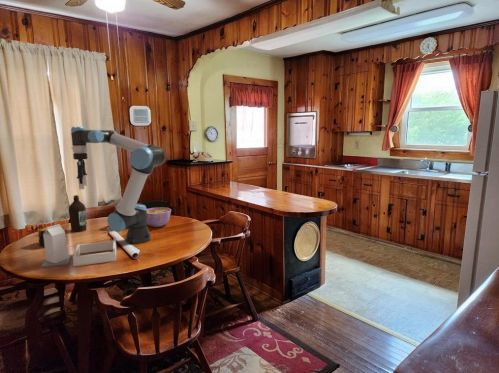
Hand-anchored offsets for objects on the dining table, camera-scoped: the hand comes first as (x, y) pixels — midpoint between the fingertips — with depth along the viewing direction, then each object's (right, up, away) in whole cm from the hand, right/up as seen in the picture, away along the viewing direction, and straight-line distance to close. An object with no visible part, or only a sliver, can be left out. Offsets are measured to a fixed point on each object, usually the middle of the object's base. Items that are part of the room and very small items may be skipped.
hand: (83, 187), depth 196 cm
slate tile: (0, -39, -26) cm, 47 cm away
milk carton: (0, -39, -27) cm, 47 cm away
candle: (-20, -35, +2) cm, 41 cm away
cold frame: (+18, -38, -19) cm, 46 cm away
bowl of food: (+34, -29, +41) cm, 61 cm away
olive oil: (-18, -31, +29) cm, 46 cm away
